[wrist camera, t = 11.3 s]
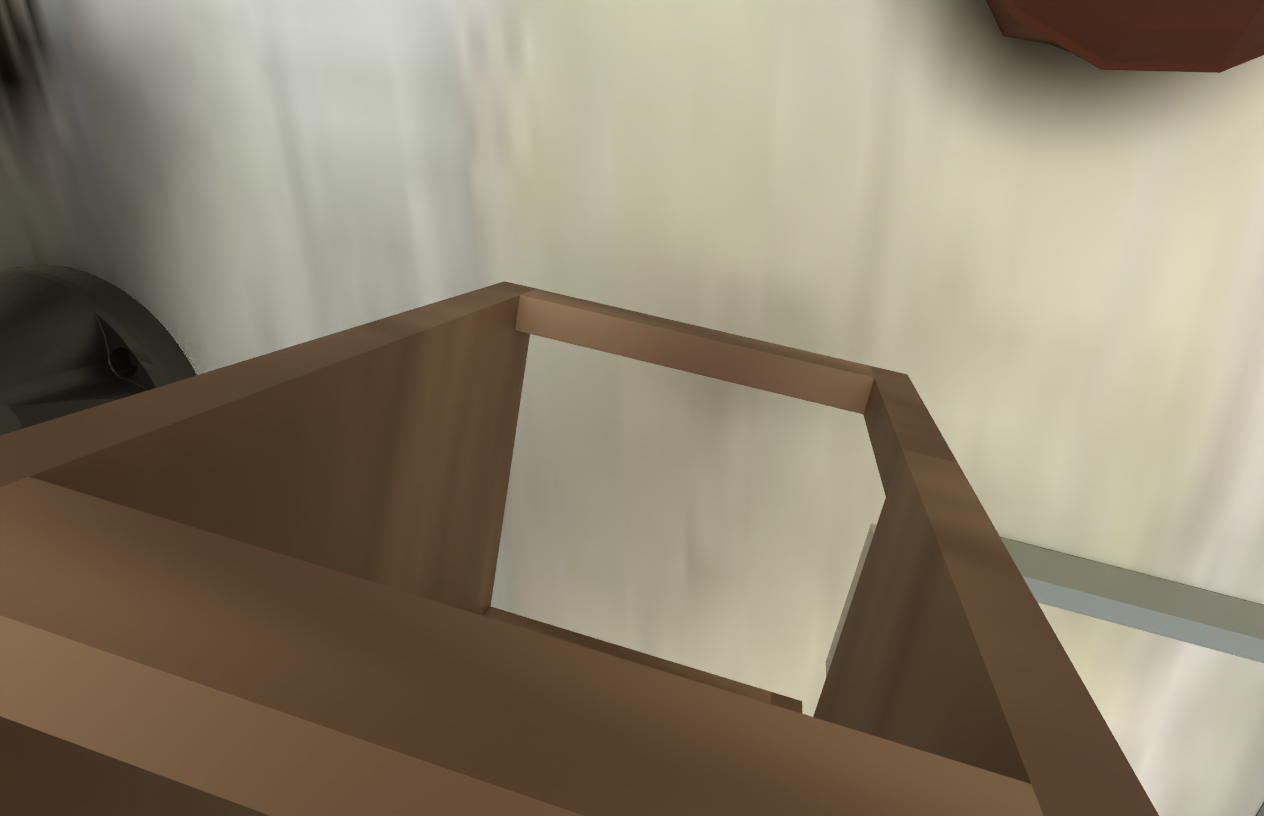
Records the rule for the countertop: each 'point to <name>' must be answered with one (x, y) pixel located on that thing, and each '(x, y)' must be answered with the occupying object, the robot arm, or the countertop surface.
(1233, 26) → the muffin
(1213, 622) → the u-shaped frame
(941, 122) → the countertop surface
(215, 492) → the open box frame
